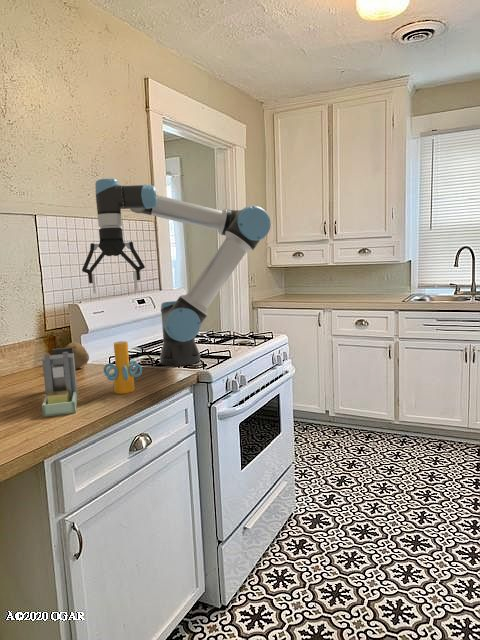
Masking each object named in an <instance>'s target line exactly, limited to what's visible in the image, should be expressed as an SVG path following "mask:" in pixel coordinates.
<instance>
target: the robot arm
mask: <svg viewBox="0 0 480 640" xmlns="http://www.w3.org/2000/svg"><path fill="white" fill-rule="evenodd" d="M95 201H96V210H97V223H98V228H99V229H98V235H99V237H98V238H99V243H93V242H92V243H90V245H89V246H90V247H89V252H88V254H87V257H86V260H85V262H84V264H83V266H82V268H81V271H82V273H86V274H87V276H88V277H87V278H88V283H89V284H92V290H93V291H92V292H93V294H96V293H97V291H96V280H95V279H96V278H95V273H93V272H94V271H95V269H96V268H97V266H98V265H99V264H100V262H101V261H102V260H103V258H104V257H105V256H107V257H113V256H114V257H117V256H121V257H122V258H123V259H124V260H125V261H126V262H127V263H128V264H129V265H130V266H131V267H132V268H133V269H134V271H133V283H134V291H135V292H137V291H139V289H138V281H141V273H140V272H141V270H144V269H145V268H146V266H145V264H144V262H143V261H142V259H141V258H140V256H139V255H138V253H137V251H136V249H135V248H134V242H133V241H129V242H124V241H125V240H124V234H123V228H122V225H123V221H122V211H121V210H128V209H129V210H130V211H131V212H132V213H135V214H144V215H146V216H147V215H149V216H153V217H157V218H161V219H166V220H169V221H173V222H174V221H175V222H179V223H182V224H186V225H187V224H188V225H192V226H196V227H200V228H204V229H208V230H212V231H217V232H218V234H219V235H221V236H225V239H224V240H223V242H222V244H221V245H220V246H219V248H218V249H217V250H216V252H215V254H214V255H213V256H212V258H211V259H210V260H209V262H208V263H207V265H206V266H205V268H204V269H203V271H202V272H201V273H200V274H199V277H198V278H197V279H196V280H195V282H194V283H193V285H192V286H191V287H190V289H189V290H188V291H187V293H186V294H184V295H183V294H182V295H180V296H179V297H178V298H177V300H171V301H164V302H162V303H161V305H160V312H161V322H162V324H161V325H162V326H161V327H162V341H163V343H162V348H161V352H160V356H159V361H160V365H163V366H172V367H179V366H181V367H182V366H189V365H193V364H196V362H197V363H198V361H199V362H201V354H200V351H199V348H198V346H197V343H196V340H195V338H196V336H197V335H198V334H199V332H200V330H201V325H202V324H203V322H204V321H205V319H206V318H207V317H208V316H209V315H208V308H209V306H210V305H211V303H212V302H213V301H214V299H215V297H216V296H217V295H218V293H219V292H220V290H221V289H222V288H223V286H224V285H225V283H226V282H227V281H228V279H229V278H230V276H231V275H232V274H233V272H234V271H235V270H236V267H237V266H238V264H239V263H240V262H241V260H243V258H244V256H246V254H247V253H251V252H253V251H254V250H255V248H256V247H257V245H258V244H259V243H260V241H261V240H263V239H264V238H265V237H267V235H268V234H269V232H270V230H271V227H272V226H271V224H272V223H271V217H270V216H269V213H268V212H267V211H266V210H265V209H263V208H262V207H260V206H257V205H248V206H245V207H243V208H242V209H240V210H239V209H236V210H233V209H229V208H224V209H222V210H220V209H215V208H213V207H207V206H203V205H200V204H195V203H192V202H187V201H182V200H179V199H175V198H171V197H167V196H162V195H158V194H157V190H156V186H154V185H151V184H150V185H149V184H148V185H147V184H141V185H121V184H120V182H119V180H118V179H116V178H100V179H97V180H96V182H95ZM125 247H126V248H127V249H129V250H130V252H131V254H132V255H133V257H134V259H135V260H136V262H137V264H138V265H139V266H138V265H137V264H136V263H135V262H134V261H133V260H132V259H131V258H130V257H129V255H127V254H126V253H125V252H124V251H123V250H124V249H125ZM98 248H99V249H100V251H101V253H100V254H99V256H98V257H97V258H96V260H95V261H94V262H93V263H92V265H91V267H89V269H88V266H89V265H90V262H91V261H92V260H91V259H92V257H93V254H94V252H95V251H96V250H97V249H98Z"/></svg>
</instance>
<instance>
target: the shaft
mask: <svg viewBox="0 0 480 640" xmlns="http://www.w3.org/2000/svg"><path fill="white" fill-rule="evenodd" d="M63 352H68V354H70V353H73V348H72V347H71V348H65V347H62V348H52V349H51V353H52V355H60V354H63ZM52 369H53V378H57V377H64V376H65V371H64V364H54V365H53V368H52Z"/></svg>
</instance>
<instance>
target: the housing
mask: <svg viewBox="0 0 480 640" xmlns="http://www.w3.org/2000/svg"><path fill="white" fill-rule="evenodd" d="M54 364H64V371H65V376H64V377H57V378H53V369H52V368H53V365H54ZM42 369H43V372H42V373H43V381H44V389H45V396H46V395H48V394H49V392H57V391H66V390H69V400H70V402H72V398H73V392H76V396H77V400H78V397H79V395H78V386H77V385H78V383H77V375H76V374H77V373H76V369H75V362H74V353H70V354H68V352H63V354H60V355H53V354H52V355H51V354H50V353H44V354H43V358H42Z"/></svg>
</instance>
